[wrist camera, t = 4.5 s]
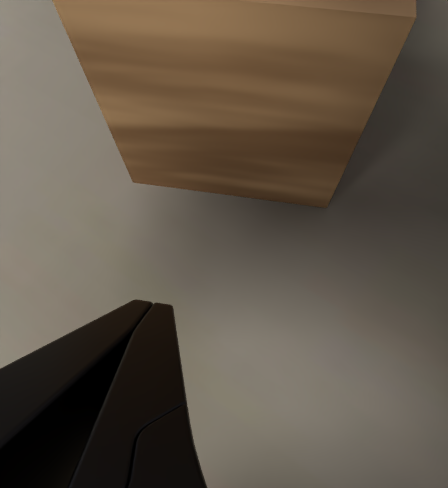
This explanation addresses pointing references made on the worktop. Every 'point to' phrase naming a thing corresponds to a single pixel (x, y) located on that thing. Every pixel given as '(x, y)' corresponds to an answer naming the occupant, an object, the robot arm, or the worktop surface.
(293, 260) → the worktop surface
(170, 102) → the domino
